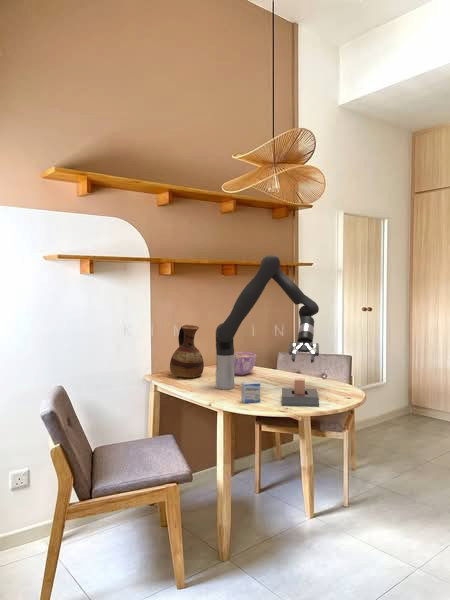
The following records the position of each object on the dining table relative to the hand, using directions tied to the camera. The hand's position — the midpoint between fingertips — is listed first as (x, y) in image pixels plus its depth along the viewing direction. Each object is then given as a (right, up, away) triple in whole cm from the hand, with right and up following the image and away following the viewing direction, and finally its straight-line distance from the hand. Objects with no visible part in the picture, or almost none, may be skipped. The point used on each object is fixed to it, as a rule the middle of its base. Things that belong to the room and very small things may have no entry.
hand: (302, 361), depth 214 cm
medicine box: (-25, -17, -9) cm, 32 cm away
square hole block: (-3, -17, -9) cm, 19 cm away
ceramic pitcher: (-59, -15, +48) cm, 77 cm away
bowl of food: (-28, -15, +54) cm, 62 cm away
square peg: (-3, -16, -9) cm, 18 cm away
